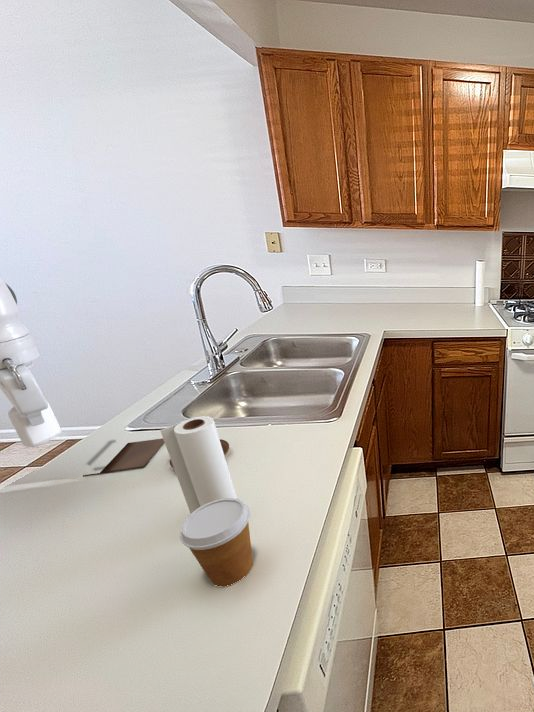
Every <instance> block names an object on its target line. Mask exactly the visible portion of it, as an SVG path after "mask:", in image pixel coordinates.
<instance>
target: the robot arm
mask: <svg viewBox="0 0 534 712" xmlns="http://www.w3.org/2000/svg"><path fill="white" fill-rule="evenodd" d="M40 356H41V354H40V352H39V350H38V347H37V346H36V343H35V341H34V339H33V337H32V334H31V333H30V330H29V329H28V327H26V326H25V325H24V323H23V322H22V321H21V317H20V309H19V306H18V299H17V296H16V293H15V291H14V290H13V289H12V288H11V287H10V285H8V284H7V283H6V282H5V281H4V280H3V278H2V277H1V276H0V390H1V392H2V393H3V394H4V395H5V397H6V398H7V399H8V401H9V402H10V404H11V405H12V407H15V409H16V410H17V411H18V412H19V414H20V415H26V417H27V419H28V421H29V422H30V424H31V425H32V426H37V425H40V424H43V423H44V422H45V421H44V419H43V417H42V414H41V411H42V410H45V409H47V408H48V404H47V401H48V400H47V399H46V397H45V395H44V393H43V390H42V389H41V387H40V385H39V383H38V381H37V379H36V378H35V376H34V374H33V373H32V372H31V370H30V369H32V368H34V366H35V363H34V361H35V360H37V359H38V358H39V357H40ZM22 389H25V390H22Z"/></svg>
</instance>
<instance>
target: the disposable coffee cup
mask: <svg viewBox="0 0 534 712" xmlns="http://www.w3.org/2000/svg"><path fill="white" fill-rule="evenodd" d="M250 515H251V512H250V508H249V506H247V504H245V503H244V502H243V501H242V500H240V499H238V498H237V499H235V498H224V499H219V500H215V501H212V502H209V503H207V504H205V505H203V506H201V507H199V508H198V509H196V510H195V511H194V512H192V513H190V514H189V515H188V516H187V517H186V518H185V519H184V521H183V523H182V524H181V530H180V535H179V539H180V543H182V545H184V546H185V547H187V548H188V549H189V550H190V552H191V553H192V555H193V557H194V558H195V559H196V561H197V563H198V565H199V566H200V567H201V569H202V570H203V572H204V573H205V575H206V577H207V578H208V580H209V581H210V583H211V582H212V583H213V584H214V585H217V586H226V587H228V586H227V585H230V586H232V585H231V584H233V583H235V582H237V581H239V580H240V581H242V580H243V579H244V578H245V577H246V576H248V574H250V572H251V570H252V568H253V566H254V560H253V553H252V552H253V551H252V542H251V533H250V525H249V519H250ZM249 571H250V572H249ZM244 576H245V577H244ZM243 577H244V578H243ZM242 578H243V579H242ZM241 579H242V580H241ZM240 581H239V582H240ZM212 583H211V584H212ZM237 583H238V582H237ZM213 584H212V585H213ZM235 584H236V583H235ZM214 585H213V586H214ZM233 585H234V584H233ZM217 586H216V587H217Z"/></svg>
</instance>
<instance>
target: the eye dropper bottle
mask: <svg viewBox="0 0 534 712" xmlns="http://www.w3.org/2000/svg"><path fill="white" fill-rule="evenodd" d="M22 390H25V389H22ZM46 401H47V404H48V408H47V409H45V410H42V411H41V414H42V417H43V419H44V421H45V422H44V423H43V424H40V425H37V426H32V425H31V424H30V422H29V421H28V419H27V417H26V415H20V414H19V412H18V411H17V410H16V409H15V407H14V406H12V407H11V408H10V409H9V411H8V413H7V415H8V418H9V420H10V422H11V424H12V427H13V428H14V430H15V433H16V434H17V436H18V438H19V440H20V442H21V444H22V445H23V446H24V447H28V448H29V447H32V448H33V447H38V446H41V445H43V444H45V443H48V442H50V441H52V440H54V439H55V438H57V437H58V436H60V435H61V434H62V431H63V430H62V428H61V425H60V424H59V421H58V419H57V416H56V415H55V413H54V411H53V409H52V407H51V405H50V403H49V401H48V400H46Z"/></svg>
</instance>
